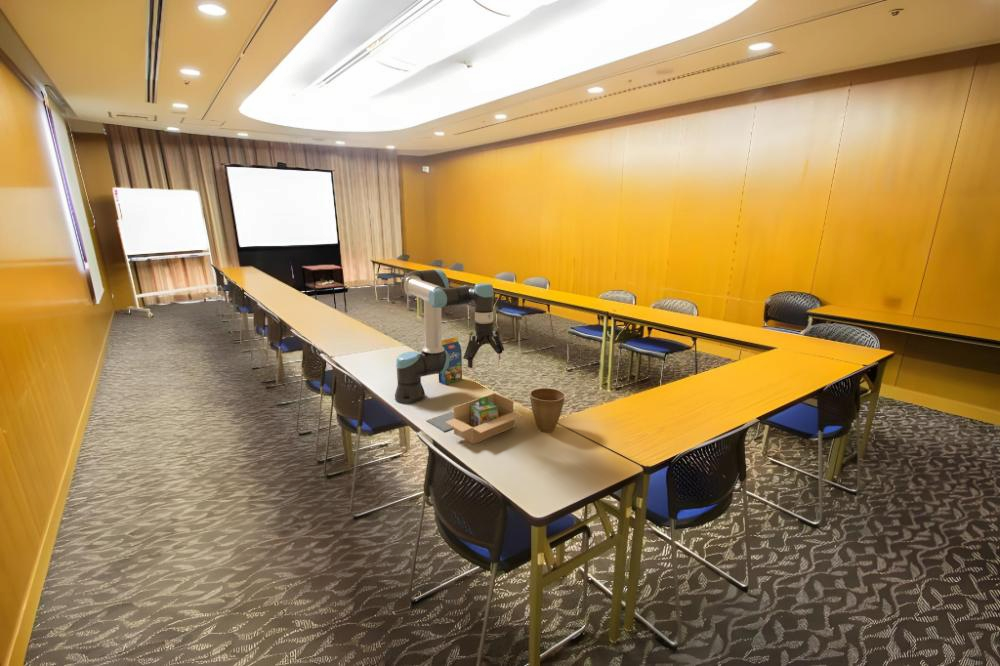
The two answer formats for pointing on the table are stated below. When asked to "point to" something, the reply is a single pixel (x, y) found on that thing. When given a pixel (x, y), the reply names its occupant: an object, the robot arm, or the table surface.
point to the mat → (442, 421)
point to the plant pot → (546, 407)
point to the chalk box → (483, 412)
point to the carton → (484, 430)
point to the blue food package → (452, 362)
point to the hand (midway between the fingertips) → (484, 371)
